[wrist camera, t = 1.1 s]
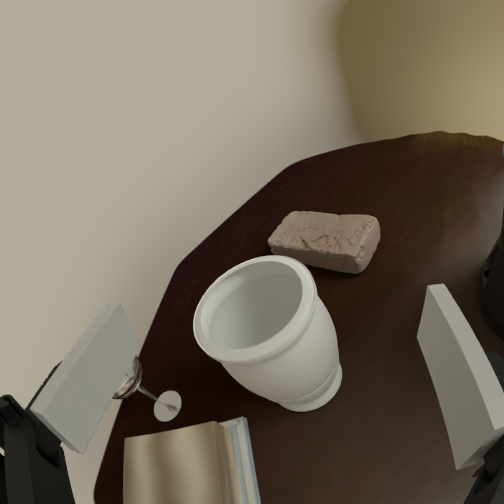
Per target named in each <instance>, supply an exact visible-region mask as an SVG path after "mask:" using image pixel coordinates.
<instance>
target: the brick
mask: <svg viewBox="0 0 504 504" xmlns="http://www.w3.org/2000/svg"><path fill="white" fill-rule="evenodd" d="M379 240H380V227H379V223H378V220H377V219H376V218H375V217H373V216H369V215H339V216H338V215H336V214H328V213H319V212H309V211H308V212H305V211H302V212H298V211H294V212H291V213H290V214H289V215H288V216H287V217H285V219H284V220H282V224H280V225H279V226H278V228H277V229H276V230H275V231H274V233H273V234H272V236H271V237H270V238H269V239H268V244H269V246H270V247H271V251H272V253H273V254H274V255H279V256H286V257H290V258H293V259H295V260H297V261H299V262H301V263H302V264H305V265H311V266H314V267H320V268H323V267H324V268H325V269H329V270H334V271H339V272H347V273H353V274H358V273H361V272H362V271H363V270H364V269H365V268H366V267H367V265H368V263H369V262H370V260H371V257H372V255H373V253H374V252H375V251H376V248H377V244H378V243H379Z"/></svg>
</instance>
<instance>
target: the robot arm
mask: <svg viewBox="0 0 504 504" xmlns="http://www.w3.org/2000/svg"><path fill="white" fill-rule="evenodd" d="M503 157H504V147H503ZM479 298H480V304H481V308H482V311H483V314H484V316H485V318H486V320H487V322H488V323H489V325H490V326H491V327H492V329H493V330H494V331H495V332H496V333H497V334H498V335H499V336H500V337H501V338H502V339H504V210H503V220H502V230H501V234H500V236H499V238H498V240H497V241H496V243H495V245H494V247H493V249H492V250H491V252H490V254H489V256H488V257H487V259H486V261H485V264H484V267H483V270H482V275H481V281H480V287H479ZM417 339H418V342H419V345H420V347H421V350H422V353H423V355H424V358H425V361H426V364H427V367H428V369H429V372H430V375H431V378H432V381H433V384H434V387H435V391H436V394H437V397H438V400H439V404H440V407H441V410H442V414H443V417H444V421H445V425H446V428H447V432H448V436H449V440H450V444H451V448H452V453H453V457H454V462H455V466H456V471H457V470H460V469H463V468H466V467H469V466H472V465H474V464H476V463H477V462H478V461H479V460H480V459H481V458H482V457H484V461H485V464H484V465H482V466H481V467H480V468H479V469H478V470H477V471H476V472H475V473H474V475H473V476H472V477H476V476H477V475H478V474H479V475H478V477H477V479H476V481H475V483H474V485H473V487H472V489H471V491H470V493H469V495H468V496H467V498H466V500H465V502H464V504H504V359H503V358H502V357H501V356H500V355H499V354H498V353H496V352H495V351H491V352H488V353H484V351H483V349H482V347H481V345H480V343H479V341H478V340H477V338H476V336H475V334H474V332H473V331H472V329H471V327H470V325H469V324H468V322H467V320H466V318H465V317H464V315H463V313H462V312H461V310H460V308H459V307H458V305H457V303H456V302H455V300H454V299H453V297H452V296H451V294H450V292H449V291H448V289H447V288H446V286H445V285H444V284H437V285H429V286H427V291H426V297H425V302H424V307H423V312H422V317H421V321H420V325H419V330H418V334H417ZM140 347H141V346H140V344H139V342H138V341H137V338H136V336H135V335H134V332H133V330H132V328H131V326H130V324H129V322H128V320H127V318H126V316H125V314H124V311H123V309H122V307H121V304H120V303H107V304H106V305H105V307H104V308H103V309H102V310H101V312H100V313H99V314H98V315H97V316H96V318H95V319H94V320H93V322H92V323H91V324H90V325H89V327H88V328H87V329H86V331H85V332H84V333H83V334H82V336H81V337H80V338H79V340H78V341H77V342H76V344H75V345H74V346H73V348H72V349H71V350H70V352H69V353H68V354H67V356H66V357H65V358H64V360H63V361H61V362H60V363H59V364H58V365H57V366H55V367H54V368H53V370H52V371H51V373H50V374H49V376H48V378H46V380H45V381H44V382H43V385H41V387H40V388H39V390H38V391H37V393H36V394H35V395H34V397H33V398H32V400H31V401H30V403H29V405H28V406H27V407H26V409H25V410H24V409H23V408H22V407H21V406H20V405H19V404H18V403H17V401H16V400H15V399H14V398H13V397H12V396H11V395H3V396H2V397H0V447H1V448H2V449H3V450H4V455H5V456H3V455H2V454H1V453H0V504H75V501H74V497H73V493H72V489H71V485H70V480H69V476H68V471H67V466H66V461H65V456H64V451H63V449H62V447H61V446H60V444H61V442H63V443H64V444H65V445H66V446H67V447H68V448H70V449H71V450H74V451H76V452H78V453H81V454H84V452H85V449H86V448H87V446H88V443H89V442H90V440H91V438H92V436H93V434H94V432H95V430H96V428H97V426H98V424H99V422H100V420H101V418H102V416H103V414H104V412H105V410H106V409H107V407H108V405H109V403H110V401H111V399H112V397H113V396H114V394H115V392H116V390H117V388H118V386H119V384H120V383H121V381H122V379H123V377H124V375H125V374H126V372H127V370H128V368H129V366H130V365H131V363H132V361H133V359H134V358H135V356H136V354H137V352H138V350H139V349H140Z"/></svg>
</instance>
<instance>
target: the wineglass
mask: <svg viewBox="0 0 504 504" xmlns="http://www.w3.org/2000/svg"><path fill="white" fill-rule="evenodd" d="M141 382H142V365H141V362H140V360H139V359H138V357H137V356H135V358H134V359H133V361H132V363H131V365H130V366H129V368H128V370H127V372H126V374H125V375H124V377H123V379H122V381H121V383H120V384H119V386H118V388H117V390H116V392H115V394H114V396H113V397H112V399H124V398H126V397H128V396H130V395H132V394H134V393H135V392H136V391H137V390H138V391H139V392H141V393H143V394H145V395H146V396H148V397H150V398H152V399H153V400H155V401H156V403H155V406H154V414H155V416H156V418H157V419H158V420H160V421H169V420H171V419H173V418H174V417H175V416H176V415H177V414H178V412H179V410H180V408H181V397H180V396H179V394H178V393H177V392H175V391H167V392H164V393H163V394H162V395H160V396H159V398H157V397H155V396H154V395H153V394H151V393H150V392H148V391H147V390H146V389H144V388H143V387H142V386H140V385H141Z"/></svg>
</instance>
